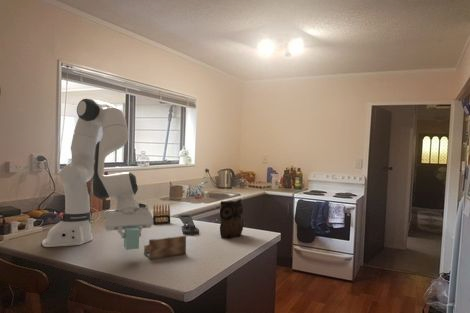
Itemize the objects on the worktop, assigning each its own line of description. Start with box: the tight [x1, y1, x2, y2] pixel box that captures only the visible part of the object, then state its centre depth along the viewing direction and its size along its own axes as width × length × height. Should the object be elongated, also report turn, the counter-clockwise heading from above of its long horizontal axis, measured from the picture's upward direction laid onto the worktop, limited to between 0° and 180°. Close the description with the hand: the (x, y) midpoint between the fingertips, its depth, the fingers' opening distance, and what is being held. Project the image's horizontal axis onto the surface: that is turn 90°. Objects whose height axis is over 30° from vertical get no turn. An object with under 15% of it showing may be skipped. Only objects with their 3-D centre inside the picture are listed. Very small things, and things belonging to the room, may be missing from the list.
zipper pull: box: [177, 214, 200, 236], centre depth 197 cm, size 9×7×25 cm
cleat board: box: [143, 235, 187, 260], centre depth 152 cm, size 16×10×8 cm, turn 120°
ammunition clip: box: [152, 203, 171, 225], centre depth 212 cm, size 11×2×12 cm, turn 109°
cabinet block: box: [123, 227, 140, 251], centre depth 144 cm, size 5×6×8 cm
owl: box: [219, 198, 245, 240], centre depth 183 cm, size 13×13×20 cm
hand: (131, 236), depth 144 cm, fingers closed on cabinet block, 5 cm apart
